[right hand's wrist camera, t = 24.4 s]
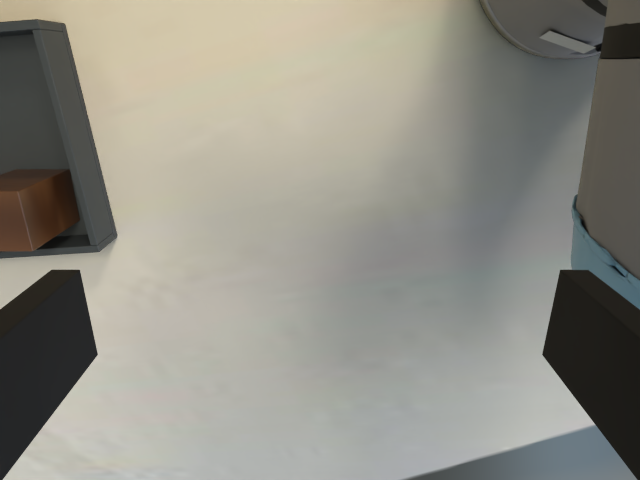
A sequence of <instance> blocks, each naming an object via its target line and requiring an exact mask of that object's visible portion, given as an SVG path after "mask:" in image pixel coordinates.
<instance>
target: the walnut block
mask: <svg viewBox="0 0 640 480" xmlns="http://www.w3.org/2000/svg"><path fill="white" fill-rule="evenodd" d="M78 221H80V217H79V213H78V208H77V203H76V198H75V193H74V188H73V183H72V178H71V174H70V170H69V169H16V170H13V171H10V172H7V173H4V174H1V175H0V251H34V250H36V249H37V248H39V247H40V246H42V245H43V244H45V243H46V242H48V241H49V240H51V239H52V238H54V237H55V236H57V235H58V234H60V233H61V232H63V231H65V230H66V229H68V228H69V227H71V226H72V225H74V224H75V223H77V222H78Z"/></svg>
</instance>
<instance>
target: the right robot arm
mask: <svg viewBox="0 0 640 480" xmlns="http://www.w3.org/2000/svg"><path fill="white" fill-rule="evenodd" d="M480 2H481V5H482V7H483V9H484V11H485V13H486V15H487V17H488V18H489V20H490V22H491V23H492V24H493V26H494V27H495V28H496V29H497V31H498V32H499V33H500V34H501V35H502V36H503V37H504V38H506V39H507V40H508V41H509V42H510V43H512V44H513V45H515V46H516V47H518V48H520V49H522V50H524V51H526V52H528V53H531V54H534V55H537V56H541V57H546V58H553V59H573V58H583V57H588V56H593V55H597V54H600V59H599V60H598V67H597V73H596V80H595V86H594V93H593V100H592V106H591V113H590V119H589V126H588V132H587V139H586V145H585V152H584V159H583V165H582V172H581V178H580V184H579V190H578V194H577V195H576V196H575V197H574V200H573V204H572V217H573V221H574V228H573V241H572V252H571V265H572V270H560V274H559V278H558V283H557V288H556V293H555V297H554V302H553V307H552V312H551V316H550V321H549V326H548V330H547V335H546V340H545V345H544V349H543V354H542V355H543V356H544V357H545V359H546V360H547V361H548V363H549V364H550V365H551V367H552V368H553V369H554V371H555V372H556V373H557V375H558V376H559V377H560V379H561V380H562V381H563V382H564V384H565V385H566V386H567V388H568V389H569V390H570V392H571V393H572V394H573V396H574V397H575V398H576V400H577V401H578V402H579V403H580V405H581V406H582V407H583V409H584V410H585V411H586V413H587V414H588V415H589V417H590V418H591V419H592V421H593V422H594V423H595V424H596V426H597V427H598V428H599V430H600V431H601V432H602V434H603V435H604V436H605V438H606V439H607V440H608V441H609V443H610V444H611V445H612V447H613V448H614V449H615V451H616V452H617V453H618V455H619V456H620V457H621V459H622V460H623V461H624V463H625V464H626V465H627V466H628V468H629V469H630V470H631V472H632V473H633V474H634V476H635V477H636V478H637V480H640V0H480ZM97 355H98V354H97V349H96V345H95V340H94V335H93V330H92V326H91V321H90V316H89V312H88V307H87V302H86V297H85V293H84V288H83V283H82V278H81V274H80V270H51V271H50V272H48V273H47V274H46V275H44V276H43V277H42V278H40V279H39V280H38V281H37V282H35V283H34V284H33V285H31V286H30V287H29V288H28V289H26V290H25V291H24V292H22V293H21V294H20V295H18V296H17V297H16V298H15V299H13V300H12V301H11V302H9V303H8V304H7V305H6V306H4V307H3V308H2V309H0V480H3V478H4V477H5V476H6V474H7V473H8V472H9V470H10V469H11V468H12V466H13V465H14V464H15V463H16V461H17V460H18V459H19V457H20V456H21V455H22V453H23V452H24V451H25V449H26V448H27V447H28V445H29V444H30V443H31V442H32V440H33V439H34V438H35V436H36V435H37V434H38V432H39V431H40V430H41V428H42V427H43V426H44V424H45V423H46V422H47V421H48V419H49V418H50V417H51V415H52V414H53V413H54V411H55V410H56V409H57V407H58V406H59V405H60V403H61V402H62V401H63V400H64V398H65V397H66V396H67V394H68V393H69V392H70V390H71V389H72V388H73V386H74V385H75V384H76V382H77V381H78V380H79V378H80V377H81V376H82V375H83V373H84V372H85V371H86V369H87V368H88V367H89V365H90V364H91V363H92V361H93V360H94V359H95V357H96V356H97Z"/></svg>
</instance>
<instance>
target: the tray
mask: <svg viewBox="0 0 640 480" xmlns="http://www.w3.org/2000/svg"><path fill="white" fill-rule="evenodd" d="M16 169H69V170H70V174H71V178H72V183H73V188H74V193H75V198H76V203H77V208H78V213H79V217H80V221H78V222H77V223H75V224H74V225H72V226H71V227H69V228H68V229H66V230H65V231H63V232H61V233H60V234H58V235H57V236H55V237H54V238H52V239H51V240H49V241H48V242H46V243H45V244H43V245H42V246H40V247H39V248H37V249H36V250H34V251H0V258H13V257H29V256H44V255H60V254H75V253H90V252H100V251H101V250H102V249H103V248H104V247H106V246H107V245H108V244H109V243H110V242H111V241H113V240H114V239H115V238H116V237H117V233H116V229H115V225H114V221H113V217H112V213H111V209H110V205H109V201H108V197H107V192H106V188H105V184H104V180H103V176H102V172H101V168H100V164H99V160H98V156H97V152H96V148H95V144H94V140H93V136H92V132H91V128H90V124H89V120H88V116H87V112H86V108H85V104H84V100H83V95H82V91H81V87H80V83H79V79H78V75H77V71H76V67H75V63H74V59H73V55H72V51H71V47H70V43H69V39H68V35H67V31H66V27H65V24H64V23H58V22H51V21H45V20H38V19H35V20H22V21H9V22H0V175H1V174H4V173H7V172H10V171H13V170H16Z"/></svg>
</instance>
